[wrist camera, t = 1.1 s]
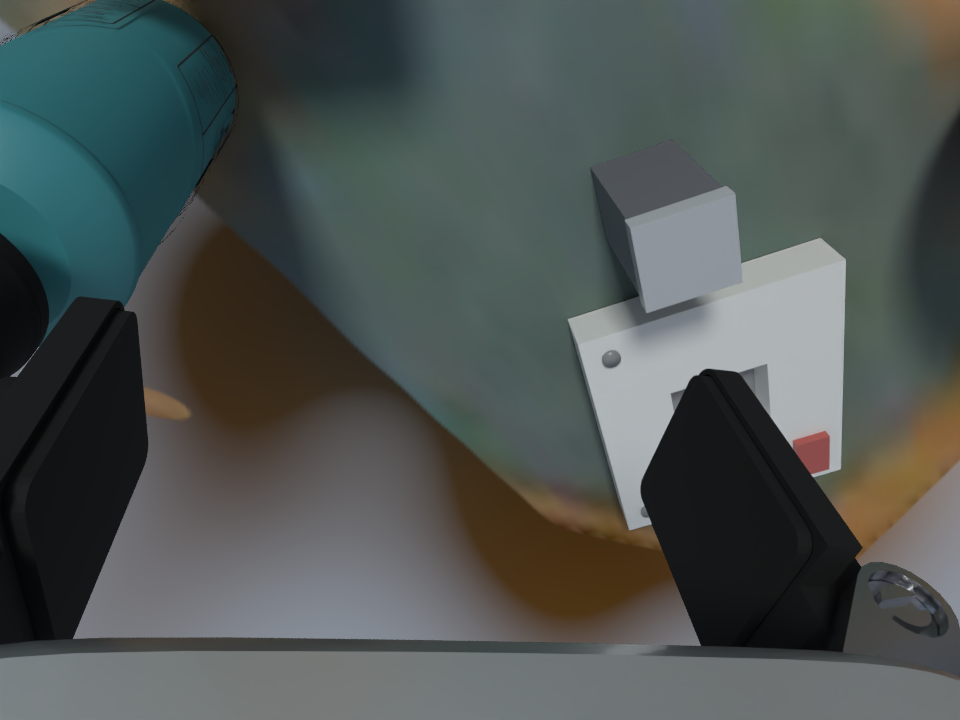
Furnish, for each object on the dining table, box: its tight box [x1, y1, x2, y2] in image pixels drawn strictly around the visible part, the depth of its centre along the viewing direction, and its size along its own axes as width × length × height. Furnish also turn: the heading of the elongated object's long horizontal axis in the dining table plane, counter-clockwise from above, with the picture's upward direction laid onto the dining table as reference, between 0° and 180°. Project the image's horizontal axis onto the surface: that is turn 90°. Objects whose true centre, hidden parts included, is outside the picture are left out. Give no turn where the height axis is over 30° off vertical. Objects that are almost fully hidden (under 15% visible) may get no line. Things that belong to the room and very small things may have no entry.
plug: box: [590, 140, 743, 313], centre depth 30 cm, size 4×4×7 cm
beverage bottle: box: [0, 0, 239, 379], centre depth 20 cm, size 6×7×20 cm
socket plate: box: [568, 238, 846, 530], centre depth 40 cm, size 14×16×3 cm
